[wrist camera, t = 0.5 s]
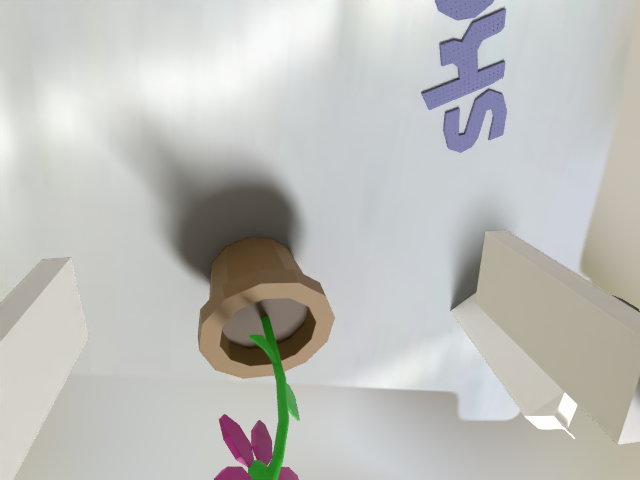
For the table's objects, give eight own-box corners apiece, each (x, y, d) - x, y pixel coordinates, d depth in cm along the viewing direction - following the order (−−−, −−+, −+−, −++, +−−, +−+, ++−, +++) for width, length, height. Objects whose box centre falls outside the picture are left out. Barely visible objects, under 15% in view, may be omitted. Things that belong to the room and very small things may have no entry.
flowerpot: (164, 272, 51) (171, 578, 28) (265, 199, 49) (361, 464, 26) (242, 329, 60) (296, 596, 37) (330, 270, 58) (443, 513, 35)
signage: (508, 134, 53) (430, 165, 52) (505, 131, 53) (428, 162, 53) (514, -187, 35) (395, -144, 34) (509, -186, 35) (391, -144, 35)
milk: (464, 325, 74) (554, 452, 58) (449, 310, 71) (540, 441, 54) (495, 303, 73) (596, 427, 56) (481, 287, 69) (585, 413, 53)
